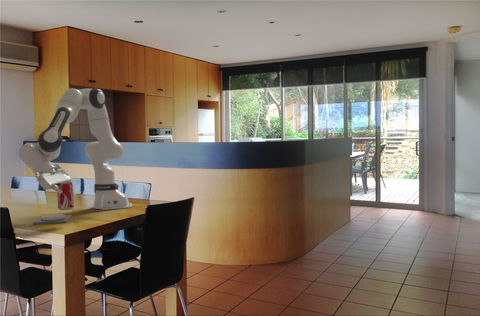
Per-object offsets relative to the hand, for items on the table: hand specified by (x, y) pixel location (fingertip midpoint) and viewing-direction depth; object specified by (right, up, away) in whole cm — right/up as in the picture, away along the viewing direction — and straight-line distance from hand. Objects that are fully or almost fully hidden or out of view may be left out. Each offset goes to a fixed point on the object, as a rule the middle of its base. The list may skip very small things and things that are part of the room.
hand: (66, 191), depth 200 cm
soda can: (-1, -9, +1) cm, 9 cm away
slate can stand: (-12, -16, +12) cm, 23 cm away
